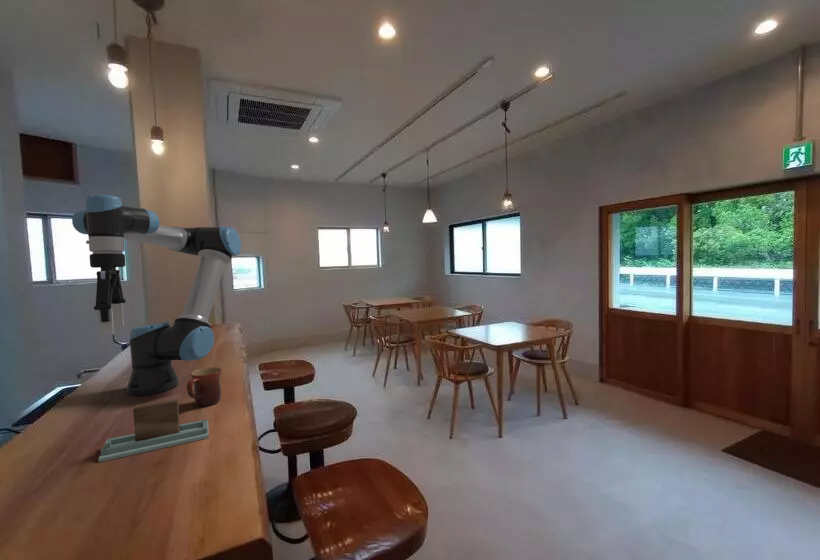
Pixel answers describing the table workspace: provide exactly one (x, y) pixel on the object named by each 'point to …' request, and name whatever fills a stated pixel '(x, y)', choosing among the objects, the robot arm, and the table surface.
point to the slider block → (156, 419)
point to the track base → (153, 441)
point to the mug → (205, 386)
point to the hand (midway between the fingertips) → (112, 330)
